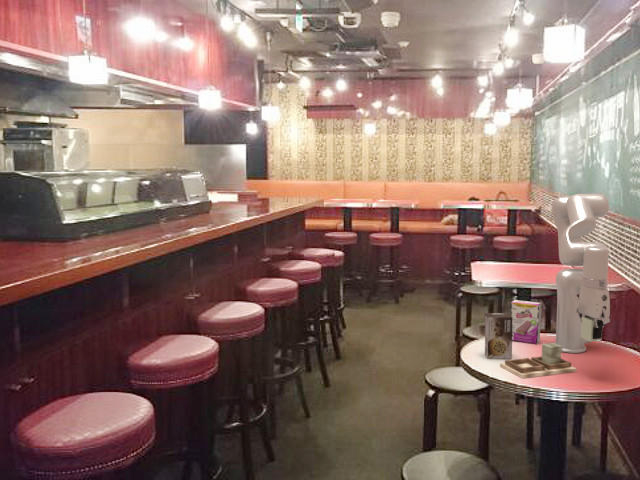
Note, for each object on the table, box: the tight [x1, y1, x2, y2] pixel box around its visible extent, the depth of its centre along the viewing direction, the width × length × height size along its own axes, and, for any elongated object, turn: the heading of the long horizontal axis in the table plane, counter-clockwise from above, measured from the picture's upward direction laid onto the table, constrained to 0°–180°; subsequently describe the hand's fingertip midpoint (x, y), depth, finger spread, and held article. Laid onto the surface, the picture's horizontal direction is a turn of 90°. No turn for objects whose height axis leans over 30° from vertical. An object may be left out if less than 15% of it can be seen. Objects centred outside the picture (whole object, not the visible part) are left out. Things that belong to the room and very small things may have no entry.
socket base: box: [499, 342, 578, 379], centre depth 215 cm, size 22×13×8 cm, turn 107°
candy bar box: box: [510, 299, 542, 345], centre depth 249 cm, size 11×5×16 cm, turn 59°
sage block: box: [581, 316, 603, 342], centre depth 205 cm, size 4×4×7 cm
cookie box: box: [484, 312, 513, 360], centre depth 230 cm, size 9×6×16 cm
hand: (591, 335), depth 206 cm, fingers closed on sage block, 4 cm apart
